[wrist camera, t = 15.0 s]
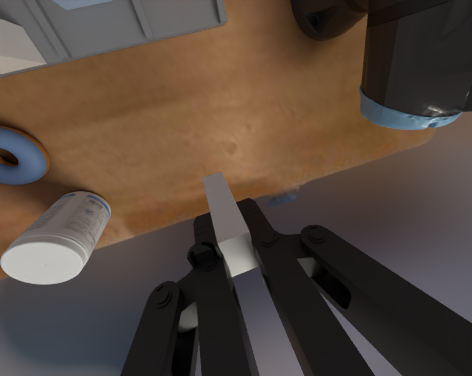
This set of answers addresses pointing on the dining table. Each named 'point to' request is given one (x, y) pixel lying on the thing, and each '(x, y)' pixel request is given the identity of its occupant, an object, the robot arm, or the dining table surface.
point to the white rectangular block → (17, 49)
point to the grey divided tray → (106, 25)
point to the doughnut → (22, 158)
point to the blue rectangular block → (78, 3)
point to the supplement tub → (58, 240)
